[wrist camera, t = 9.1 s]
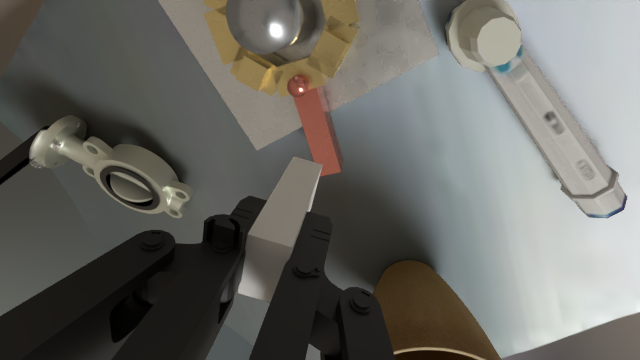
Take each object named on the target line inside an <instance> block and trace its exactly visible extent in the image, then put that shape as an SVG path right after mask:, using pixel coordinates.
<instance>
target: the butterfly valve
mask: <svg viewBox="0 0 640 360" xmlns="http://www.w3.org/2000/svg"><path fill="white" fill-rule="evenodd" d="M86 132H87V125H86V123H85V122H84V121H83V120H81V119H79V118H77V117H75V116H73V115H69V116H65V117H63V118H61V119H59V120H58V121H56V122H55V123H54V124H53V125H51V126H45V127H43V128H42V129H40V130H39V131H38V132H37V133H35V134H34V135H33V136H31V137H30V138H29V139H27V140H26V141H25V142H23V143H22V144H21V145H19V146H18V147H17V148H16V149H14V150H13V151H12V152H10V153H9V154H8V155H6V156H5V157H4V158H2V159H1V160H0V185H1V184H2V183H4V182H5V181H6V180H8V179H9V178H10V177H12V176H13V175H14V174H16V173H17V172H18V171H20V170H21V169H22V168H23V167H25V166H26V165H28V164H29V163H31V164H32V166H34V167H36V168H38V167H39V168H43V166H44V167H48V168H56V167H59V166H61V165H62V164H64V163H65V162H66V161H68V160H69V159H72V160H74V161H76V162H78V163H80V164H82V165H83V170H84V171H85V172H86V173H87V174H88V175H90V176H92V177H94V178H96V180H97V182H98V183H99V185H100V186H101V187H102V189H103V190H104V191H105V192H106V193H107V194H109V195H110V196H111V197H112V198H114V199H115V200H116V201H118V202H120V203H121V204H123V205H125V206H127V207H129V208H131V209H133V210H136V211H139V212H143V213H148V214H156V213H160V212H162V211H165V212H166V213H168V214H169V215H170V216H172V217H175V218H181V217H182V215H183V214H184V212H185V211H186V209H185V207H184V206H183V205H184V204H185V202H186V201H188V200H189V199H190V198H191V196H192V195H193V190H192V188H191V187H190V186H188V185H186V184H184V183H180V182H179V180H178V178H177V175H176V174H175V172H174V171H173V169H172V168H171V167H170V166H169V165H168V164H167V163H166V162H165V161H164V160H163V159H161V158H160V157H159V156H157V155H156V154H154V153H152V152H151V151H149V150H147V149H145V148H142V147H139V146H136V145H131V144H120V145H117V146H115V147H114V148H111V147H109V146H108V145H107V144H106V143H104V142H103V141H102V140H100V139H99V138H97V137H90V138H89V139H87V140H86V141H84V138H85V135H86Z"/></svg>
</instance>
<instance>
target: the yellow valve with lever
mask: <svg viewBox="0 0 640 360" xmlns="http://www.w3.org/2000/svg"><path fill="white" fill-rule="evenodd" d="M321 3H322V7H323V11H324V15H325V18H326V22H327V23H326V25H325V27H324V29H323V31H322V33H321V35H320V37H319V39H318V41H317V43H316V45H315V47H314V49H313V52H312V54H311V55H308V56H304V57H301V58H298V59H295V60H292V61H286V60H284V59H283V58H281V57H279V56H278V55H276V54H274V53H269V54H257V53H253V52H250V51H248V50H246V49H245V48H243V47H242V46H241V45H240V44H239V43H238V42H237V41H236V40H235V39H234V37H233V36H232V34H231V32H230V30H229V27H228V24H227V19H226V5H227V0H204V1H203V4H205V5H207V6H208V7H210V8H212V9H214V10H212V11H210V12H207V13H204V17H205V19H206V22H207V24H208V27H209V29H210V32H211V35H212V37H213V40H214V42H215V45H216V47H217V50H218V52H219V55H220V58H221V60H222V63H223V65H226V64H229V63H232V62H234V63H233V65H232V68H231V70H230V73H232V74H233V75H235V76H236V78H235V79H236V80H238V81H240V82H241V83H243V84H245V85H247V86H248V87H250V88H252V89H254V90H256V91H257V92H258V91H259V90H262V91H263V92H265V93H267V94H269V95H270V96H273V95H274V94H276V93H277V92H279V95H280V98H281V97H284V96H288V95H292V96H293V98H294V101H295V104H296V107H297V110H298V113H299V117H300V120H301V123H302V126H303V129H304V132H305V135H306V138H307V141H308V144H309V147H310V151H311V154H312V157H313V160H314V162H315V163H319V164H322V169H321V173H320V176H325V175H329V174H334V173H339V172H341V170H342V164H343V157H342V154H341V150H340V147H339V143H338V140H337V136H336V133H335V129H334V126H333V122H332V119H331V115H330V112H329V108H328V105H327V101H326V98H325V94H324V91H323V87H322V86H323V85H325V84H326V83H327V81H328V80H329V78H331V79H333V77H334V75H335V74H336V72H337V70H338V68H339V66H340V65H341V63H342V61H343V59H344V57H345V55H346V54H347V52H348V50H349V48H350V46H351V44H352V42H353V41H354V39H355V37H356V35H357V33H358V31H359V30H358V29H356V28H354V27H353V26H351V25H350V24H352V23H356V22H359V21H360V17H359V12H358V8H357V3H356V0H321ZM320 176H319V177H320Z"/></svg>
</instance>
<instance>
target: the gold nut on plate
mask: <svg viewBox="0 0 640 360" xmlns="http://www.w3.org/2000/svg"><path fill="white" fill-rule="evenodd" d="M158 1H159V3H160V4H161V6H162V7H163V9H164V10H165V12H166V13H167V15H168V16H169V18H170V19H171V21H172V22H173V24H174V25H175V27H176V29H177V30H178V32H179V33H180V35H181V36H182V38H183V39H184V41H185V42H186V44H187V45H188V47H189V48H190V50H191V51H192V53H193V54H194V56H195V57H196V59H197V60H198V62H199V63H200V65H201V66H202V68H203V69H204V71H205V73H206V74H207V76H208V77H209V79H210V80H211V82H212V83H213V85H214V86H215V88H216V89H217V91H218V92H219V94H220V95H221V97H222V98H223V100H224V101H225V103H226V104H227V106H228V107H229V109H230V110H231V112H232V114H233V115H234V117H235V118H236V120H237V121H238V123H239V124H240V126H241V127H242V129H243V130H244V132H245V133H246V135H247V136H248V138H249V139H250V141H251V142H252V144H253V145H254V147H255V148H256V150H259V149H261V148H263V147H265V146H267V145H268V144H270V143H272V142H274V141H276V140H278V139H280V138H282V137H284V136H285V135H287V134H289V133H291V132H293V131H295V130H297V129H299V128H301V127H302V123H301V120H300V117H299V113H298V110H297V107H296V104H295V101H294V98H293V96H292V95H288V96H284V97H281V98H280V95H279V92H277V93H276V94H274V95H273V96H270V95H269V94H267V93H265V92H263V91H262V90H259V91H258V92H257V91H256V90H254V89H252V88H250V87H248V86H247V85H245V84H243V83H241V82H240V81H238V80H236V79H235V78H236V76H235V75H233V74H232V73H230V70H231V68H232V65H233V63H234V62H232V63H229V64H226V65H223V63H222V60H221V58H220V55H219V52H218V50H217V47H216V45H215V42H214V40H213V37H212V35H211V32H210V29H209V27H208V24H207V22H206V19H205V17H204V13H207V12H210V11H212V10H214V9H212V8H210V7H208V6H207V5H205V4H203V1H204V0H158ZM356 3H357V8H358V12H359V17H360V21H359V22H356V23H352V24H350V25H351V26H353V27H354V28H356V29H358V30H359V31H358V33H357V35H356V37H355V39H354V41H353V42H352V44H351V46H350V48H349V50H348V52H347V54H346V55H345V57H344V59H343V61H342V63H341V65H340V66H339V68H338V70H337V72H336V74H335V75H334V77H333V79H331V78H329V80H328V81H327V83H326V84H325V85H323V86H322V87H323V91H324V94H325V98H326V101H327V105H328V108H329V112H331V111H333V110H335V109H336V108H338V107H340V106H342V105H344V104H346V103H348V102H350V101H352V100H353V99H355V98H357V97H359V96H361V95H363V94H365V93H367V92H369V91H370V90H372V89H374V88H376V87H378V86H380V85H382V84H384V83H386V82H387V81H389V80H391V79H393V78H395V77H397V76H399V75H401V74H403V73H404V72H406V71H408V70H410V69H412V68H414V67H416V66H418V65H420V64H421V63H423V62H425V61H427V60H429V59H431V58H433V57H435V56H437V55H438V54H439V52H438V49H437V47H436V44H435V42H434V39H433V37H432V35H431V32H430V30H429V27H428V25H427V22H426V20H425V17H424V15H423V12H422V10H421V7H420V5H419V2H418V0H356ZM226 19H227V24H228V27H229V30H230V32H231V34H232V36H233V37H234V39H235V40H236V41H237V42H238V43H239V44H240V45H241V46H242V47H243V48H245V49H246V50H248V51H250V52H253V53H257V54H269V53H274V54H276V55H278V56H279V57H281V58H283V59H284V60H286V61H292V60H295V59H298V58H301V57H304V56H308V55H311V54H312V52H313V49H314V47H315V45H316V43H317V41H318V39H319V37H320V35H321V33H322V31H323V29H324V27H325V25H326V23H327V22H326V18H325V15H324V11H323V7H322V3H321V0H227V5H226Z"/></svg>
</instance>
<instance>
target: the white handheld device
mask: <svg viewBox="0 0 640 360" xmlns="http://www.w3.org/2000/svg"><path fill="white" fill-rule="evenodd" d="M445 29H446V36H447V45H448V46H449V50H450V52H451V53H452V54H453V56H454V57H455V59H456V60H457V61H458V63H459V64H460V65H462V66H464V67H467V68H469V69H471V70H474V71H476V72H482V71H488V72H489V74H490V75H491V77H492V78H493V80H494V81H495V83H496V84H497V86H498V87H499V89H500V90H501V92H502V93H503V95H504V97H505V98H506V100H507V101H508V103H509V104H510V106H511V107H512V109H513V110H514V112H515V113H516V115H517V116H518V118H519V119H520V121H521V122H522V124H523V125H524V127H525V128H526V130H527V131H528V133H529V134H530V136H531V137H532V139H533V141H534V142H535V144H536V145H537V147H538V148H539V150H540V151H541V153H542V154H543V156H544V157H545V159H546V160H547V162H548V163H549V165H550V166H551V168H552V169H553V171H554V172H555V174H556V175H557V177H558V178H559V180H560V181H561V183H562V186H561V190H562V191H563V192H564V193H565V194H566V195H567V196H568V197H569V198H570V199H571V200H572V201H575V203H576V204H577V206H578V207H579V208H580V209H581V210H582V211H583V212H584V213H585V214H586V215H587V216H588V217H592V218H609V217H611V216H613V215H615V214H617V213H619V212H621V211H622V210H624V208H625V204H626V200H627V196H626V194H625V193H624V191H623V189H622V188H621V186H620V184H619V183H618V177H619V174H618V172H616V171H615V170H613V169H612V168H610V167H609V166H607V165H606V163H605V162H604V161H603V159H602V158H601V156H600V155H599V153H598V152H597V151H596V149H595V148H594V146H593V145H592V144H591V142H590V141H589V139H588V138H587V137H586V135H585V134H584V132H583V131H582V130H581V128H580V127H579V125H578V124H577V122H576V121H575V120H574V118H573V117H572V115H571V114H570V113H569V111H568V110H567V108H566V107H565V106H564V104H563V103H562V101H561V100H560V98H559V97H558V96H557V94H556V93H555V91H554V90H553V89H552V87H551V86H550V84H549V83H548V82H547V80H546V79H545V77H544V76H543V75H542V73H541V72H540V70H539V69H538V67H537V66H536V65H535V63H534V62H533V60H532V59H531V58H530V56H529V55H528V53H527V52H526V51H525V49H524V48H523V46H522V45H521V29H520V27H519V26H518V18H517V17H516V15H515V13H514V12H513V10H512V9H511V7H510V5H509V4H508V3H507V2H505V1H503V0H466V1H463V2H461V3H460V4H459V5H458V6H457V7H456V8H454V9H453V10H452V11H451V12H450V14H449V17H448V19H447V22H446V25H445Z"/></svg>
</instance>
